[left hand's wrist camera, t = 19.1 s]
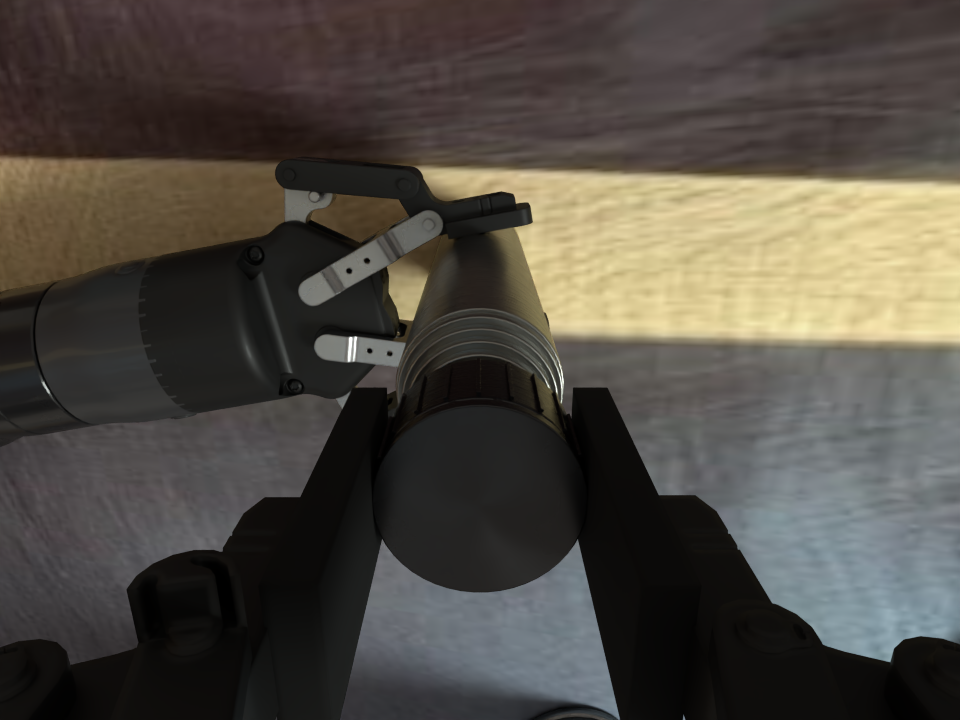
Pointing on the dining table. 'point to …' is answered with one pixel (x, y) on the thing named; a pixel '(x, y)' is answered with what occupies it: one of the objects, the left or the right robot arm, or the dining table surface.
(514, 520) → the cap
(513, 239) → the bottle
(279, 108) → the dining table surface
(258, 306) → the right robot arm
